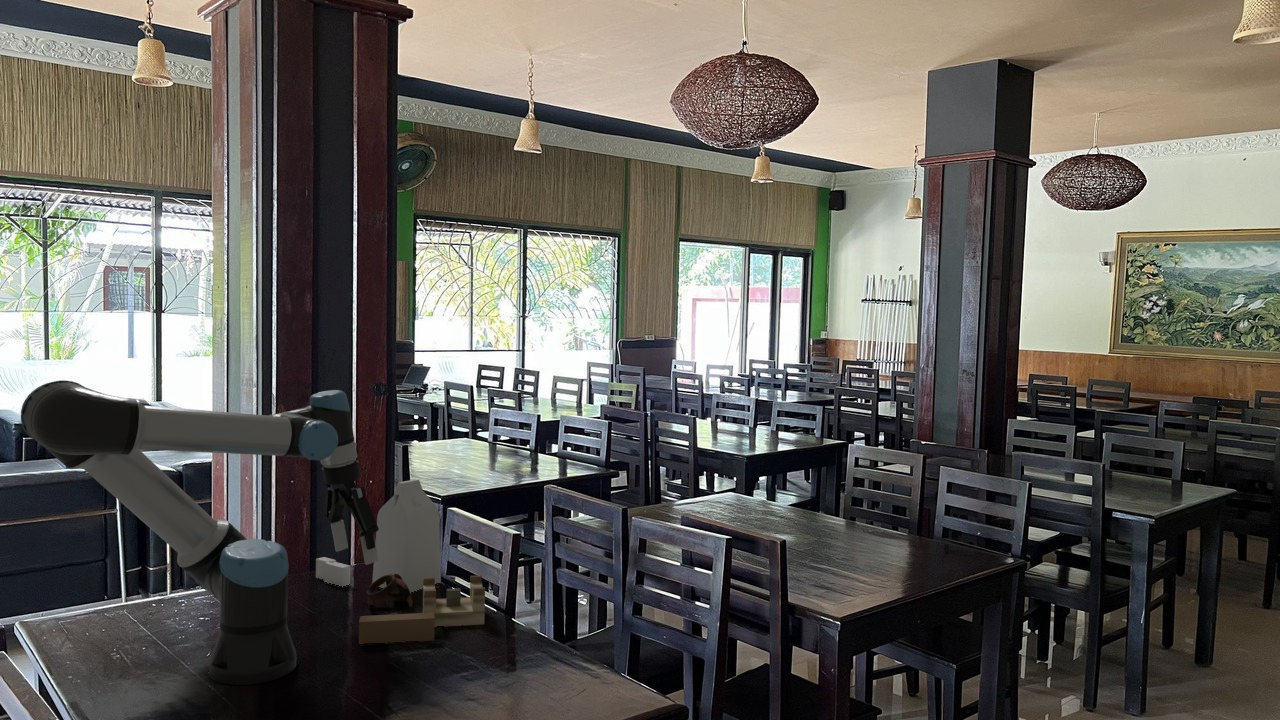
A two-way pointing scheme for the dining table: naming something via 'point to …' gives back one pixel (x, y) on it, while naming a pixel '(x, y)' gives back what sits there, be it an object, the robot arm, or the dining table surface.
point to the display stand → (455, 604)
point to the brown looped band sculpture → (389, 590)
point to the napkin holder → (333, 571)
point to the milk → (408, 537)
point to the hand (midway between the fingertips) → (356, 556)
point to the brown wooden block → (396, 628)
